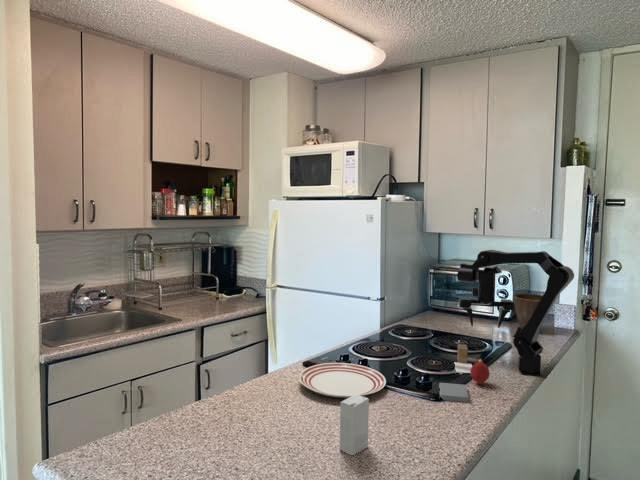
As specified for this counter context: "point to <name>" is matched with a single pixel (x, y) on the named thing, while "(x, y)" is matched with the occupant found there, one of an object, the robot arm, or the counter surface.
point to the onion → (479, 372)
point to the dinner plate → (342, 379)
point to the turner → (462, 360)
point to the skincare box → (354, 424)
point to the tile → (453, 392)
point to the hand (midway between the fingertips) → (485, 326)
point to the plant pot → (526, 306)
